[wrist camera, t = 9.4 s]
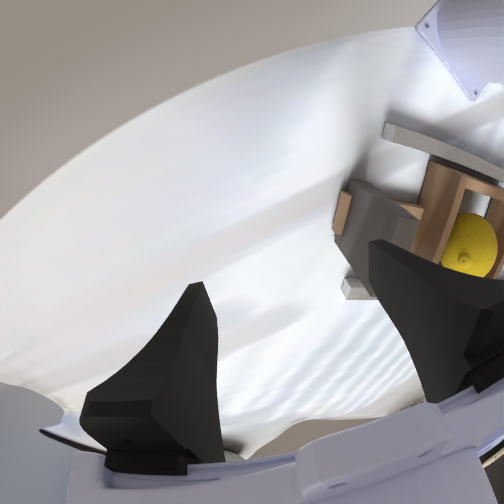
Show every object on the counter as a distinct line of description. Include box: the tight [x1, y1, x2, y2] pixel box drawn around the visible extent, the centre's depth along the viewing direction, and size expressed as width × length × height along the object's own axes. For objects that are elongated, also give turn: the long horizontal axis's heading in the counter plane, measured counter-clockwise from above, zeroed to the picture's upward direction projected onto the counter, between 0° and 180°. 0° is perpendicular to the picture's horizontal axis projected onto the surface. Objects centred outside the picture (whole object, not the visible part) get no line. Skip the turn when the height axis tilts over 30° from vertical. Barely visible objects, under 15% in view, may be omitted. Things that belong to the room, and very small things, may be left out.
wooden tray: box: [332, 161, 504, 297], centre depth 19 cm, size 18×11×7 cm, turn 83°
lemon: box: [440, 213, 498, 277], centre depth 20 cm, size 6×6×8 cm
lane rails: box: [341, 123, 504, 300], centre depth 23 cm, size 26×14×2 cm, turn 83°
